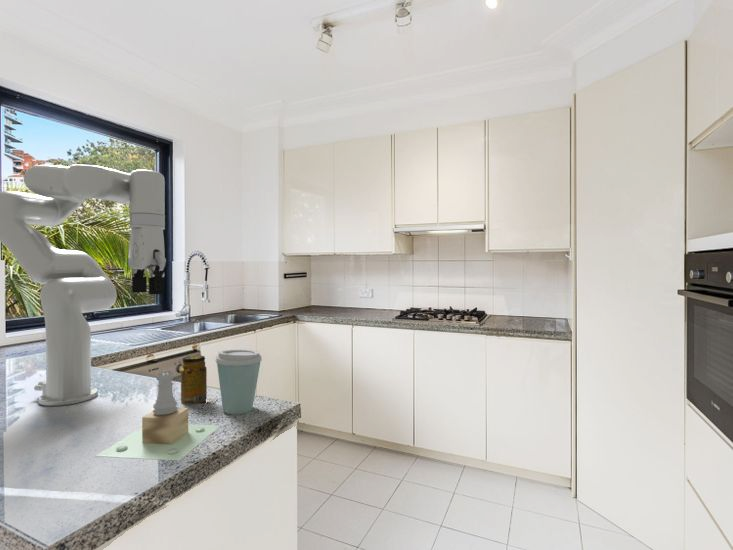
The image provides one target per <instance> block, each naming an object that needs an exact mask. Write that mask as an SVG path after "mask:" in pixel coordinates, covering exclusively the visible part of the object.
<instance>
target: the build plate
mask: <svg viewBox="0 0 733 550" xmlns="http://www.w3.org/2000/svg"><path fill="white" fill-rule="evenodd" d="M220 427H221V425H218V424H215V425H214V424H198V423H197V424H196V423H195V424H193V423H188V433H186V434H185V435H184V436H182V437H181V438H180V439H178V440H177V441H176V442H175V443H173V444H152V443H142V426H141V427H140V428H138V429H136V430H135V431H133V432H132V433H130V434H128V435H127V436H125V437H123V438H122V439H120V440H119V441H117V442H115V443H113V444H112V445H110V446H109V447H107V448H105V449H103V450H102V451H100V452H98V453H97V454H96V455H94V457H103V458H122V459H124V458H125V459H141V460H154V461H155V460H158V461H159V460H160V461H177V462H179V461H181V460H183V459H184V458H185V457H186V456H187V455H188V454H190V453H191V452H192V451H193V450H194V449H195V448H196V447H198V446H199V445H200V444H201V443H202V442H204V440H205V439H207V438H208V437H210V435H212V434H213V433H214V432H215V431H216V430H217V429H218V428H220Z"/></svg>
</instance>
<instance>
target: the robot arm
mask: <svg viewBox="0 0 733 550" xmlns="http://www.w3.org/2000/svg"><path fill="white" fill-rule="evenodd" d="M23 183H24V185H25V186H26V188H27V189H28V190H29V191H30V192H31V193H28V192H24V191H23V192H22V191H15V190H14V191H13V190H2V191H1V190H0V242H1V243H2V244H3V245H4V246H5V247H6V248H7V249H8V250H9V252H11V254H12V256H13V257H14V258H15V259H16V261H17V262H18V264H19V265H20V266H21V267H22V269H23V270H24V272H26V274H27V276H29V278H30V279H31V280H32V281H33V282H35V283H37V284H39V285H43V287H42V288H41V290H40V294H39V299H40V304H41V309H42V312H43V313H42V314H43V317H44V326H45V327H44V328H45V363H46V364H45V380H40V381H38V383H37V384H36V385H34V391H38V392H39V391H40V392H41V391H42V392H41V393H42V395H40V396H39V397H38V399H37V400H38V404H39V405H41V406H48V407H50V406H51V407H52V406H53V407H55V406H67V405H75V404H77V403H78V404H79V403H82V402H85V401H88V400H92V399H94V398H96V397H97V395H98V394H99V389H98V388H96V387H92V349H91V348H92V343H91V342H92V335H91V333H92V332H91V327H90V326H91V325H89V323H88V320H87V319H86V318H85V316H84V314H85V313H92V312H93V313H94V312H101V311H106V310H108V309H110V308H111V307H113V306H114V304H116V301H117V298H118V295H117V294H118V293H117V289H116V286H115V284H114V283H113V281H112V280H111V279H110V277H109V275H107V273H106V272H105V271H104V270H103V269H102V267H101V266H100V264H98V262H97V261H96V260H95V259H94V257H92V256H91V255H90V254H89V253H86V252H84V251H81V250H76V249H75V250H73V249H60V248H56V247H55V246H54V245H53V244H52V243H51V242H50V240H49V239H48V238H47V237H46V236H45V235H44V234H43V233H42V232H41V231H39V230H37V229H36V228H34V227H32V226H43V227H56V226H59V225H61V224H62V223H64V222H65V221H66V220H67V219H68V218H69V217H70V216H71V215H72V214H74V212H75V211H76V210H77V209H78V208H79V207H80V206H81V205H82V204H83V203H84V202H85V201H86V200H88V199H89V198H91V199H97V200H103V201H110V202H116V203H119V204H124V205H125V204H126V205H129V228H130V234H129V235H130V236H129V243H128V244H129V245H128V262H127V263H128V264H127V265H128V267H129V269H131V270H132V271H131V292H132V293H134V294H135V293H147V282H148V295H151V296H152V295H164V293H165V271H166V262H167V259H166V257H165V256H166V255H165V237H164V230H165V229H166V227H165V226H166V220H165V219H166V215H165V212H166V209H165V205H166V203H165V201H166V199H165V196H166V192H165V191H166V190H165V187H166V186H165V185H166V181H165V177H164V175H163V174H162V173H161V172H159V171H156V170H151V169H150V170H149V169H136V170H135V169H134V170H132V171H131V172H130V173H128V172H124V171H120V170H117V169H113V168H110V167H109V168H108V167H104V166H100V165H92V164H76V163H75V164H71V165H70V166H69V165H68V166H67V165H66V166H65V165H56V164H55V165H54V164H53V165H52V164H38V165H34V166H31V167H29V168H28V169H27V170H26V171H25V172H24V175H23ZM31 225H32V226H31ZM147 271H148V273H149V277H148V276H146V273H147ZM147 278H148V281H147Z"/></svg>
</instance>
